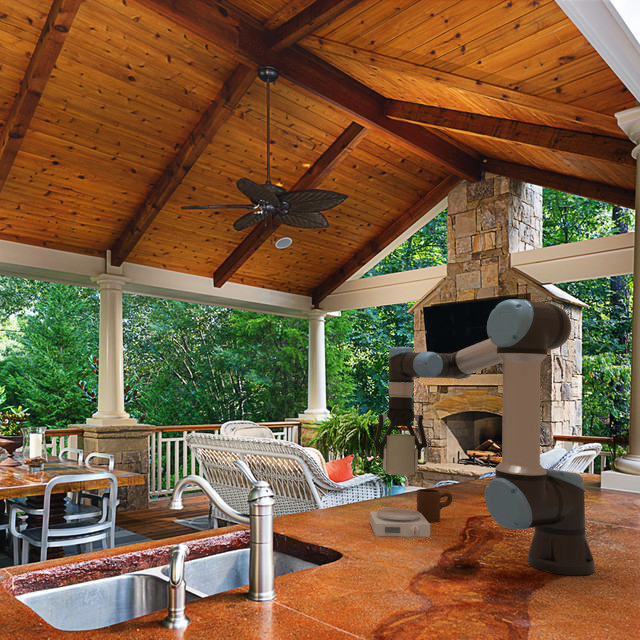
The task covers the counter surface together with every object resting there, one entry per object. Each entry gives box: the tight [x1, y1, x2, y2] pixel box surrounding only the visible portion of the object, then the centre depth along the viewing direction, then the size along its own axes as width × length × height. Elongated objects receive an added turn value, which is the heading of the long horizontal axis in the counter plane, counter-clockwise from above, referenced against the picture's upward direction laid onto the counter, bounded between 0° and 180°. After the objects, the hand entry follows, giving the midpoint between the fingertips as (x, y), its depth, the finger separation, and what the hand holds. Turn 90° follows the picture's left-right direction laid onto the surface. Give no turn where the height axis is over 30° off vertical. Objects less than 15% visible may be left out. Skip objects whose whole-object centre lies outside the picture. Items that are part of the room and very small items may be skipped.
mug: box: [416, 488, 453, 523], centre depth 190 cm, size 12×8×9 cm, turn 98°
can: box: [384, 433, 416, 477], centre depth 178 cm, size 9×9×12 cm
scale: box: [369, 507, 431, 538], centre depth 175 cm, size 16×16×5 cm
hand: (400, 470), depth 178 cm, fingers closed on can, 9 cm apart
